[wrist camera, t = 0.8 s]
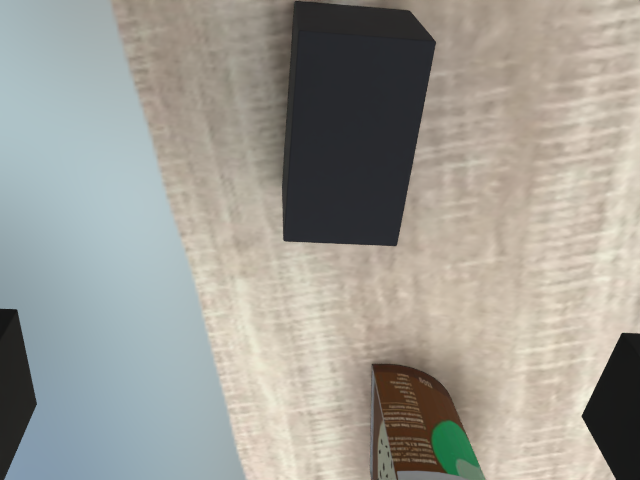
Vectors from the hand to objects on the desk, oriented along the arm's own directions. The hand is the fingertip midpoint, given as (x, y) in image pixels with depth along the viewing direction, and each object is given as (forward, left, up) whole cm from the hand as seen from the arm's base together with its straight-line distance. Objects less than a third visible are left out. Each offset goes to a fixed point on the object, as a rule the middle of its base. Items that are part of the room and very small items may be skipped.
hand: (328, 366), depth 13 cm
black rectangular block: (-1, +1, -14) cm, 15 cm away
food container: (+18, +9, -15) cm, 25 cm away
